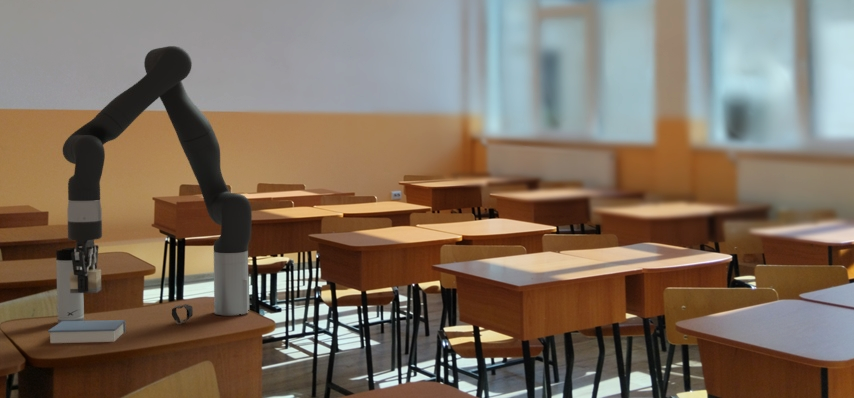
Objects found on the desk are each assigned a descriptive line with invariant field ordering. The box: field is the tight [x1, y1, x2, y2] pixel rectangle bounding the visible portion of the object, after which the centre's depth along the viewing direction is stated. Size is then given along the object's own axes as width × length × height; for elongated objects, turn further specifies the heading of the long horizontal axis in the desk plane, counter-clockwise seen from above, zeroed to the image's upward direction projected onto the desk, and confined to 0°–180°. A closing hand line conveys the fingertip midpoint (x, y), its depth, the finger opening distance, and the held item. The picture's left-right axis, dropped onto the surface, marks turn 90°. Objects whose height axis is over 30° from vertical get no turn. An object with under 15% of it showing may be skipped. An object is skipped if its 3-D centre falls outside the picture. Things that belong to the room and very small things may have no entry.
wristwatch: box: [171, 303, 194, 325], centre depth 209 cm, size 3×5×5 cm, turn 77°
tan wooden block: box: [70, 269, 102, 294], centre depth 191 cm, size 6×4×5 cm, turn 97°
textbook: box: [47, 319, 126, 344], centre depth 193 cm, size 15×10×4 cm, turn 97°
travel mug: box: [55, 246, 85, 324], centre depth 208 cm, size 6×7×20 cm
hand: (86, 290), depth 192 cm, fingers closed on tan wooden block, 4 cm apart
